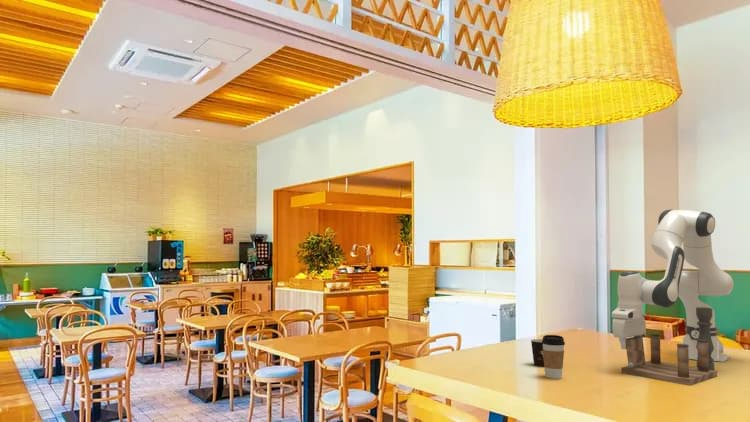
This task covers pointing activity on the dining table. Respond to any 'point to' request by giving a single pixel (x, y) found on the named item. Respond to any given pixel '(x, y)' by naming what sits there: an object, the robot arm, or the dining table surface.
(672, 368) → the stool
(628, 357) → the hinged leg
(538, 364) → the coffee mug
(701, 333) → the candle holder
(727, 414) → the dining table surface
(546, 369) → the coffee cup
